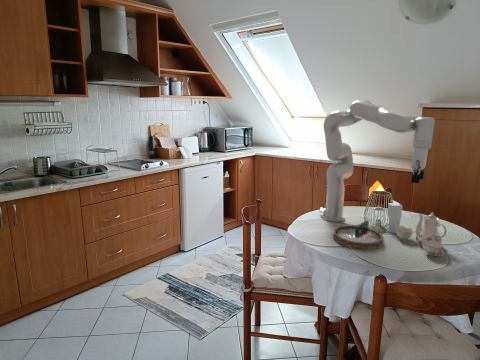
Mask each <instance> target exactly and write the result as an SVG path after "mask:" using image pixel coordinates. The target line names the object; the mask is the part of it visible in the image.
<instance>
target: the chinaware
mask: <svg viewBox="0 0 480 360" xmlns="http://www.w3.org/2000/svg"><path fill="white" fill-rule="evenodd" d="M439 221H440V218H438V217H437V216H436V215H435V214H434V212H430V214H429V215H426V216H423V214H422V213H419V220H418V221H417V224H416V226H415V231H414V229H413V228H412V227H406V226H404V225H403V226H400V225H399V227H395V230H396V232H395V233H396V236H397V237H398V238H399V240H400V241H404V242H406V241H408V240H409V239H410V238H411V237H412V235H413V234H414V233H415V235H416V236H415V240H416V242H417V245H418V246H420V247H421V248H422V249H423V251H424V252H425V254H426V255H427V256H429V257H434V256H435V257H437V256H439V257H443V256H444V250H443V249H442V248H443V246H444V245H443V238H444V237H445V236H446V235H447V232H448V231H447V227H446V225H445V224H443V223H441V222H439ZM423 222H424V223H423ZM440 226H442V227H443V229H444V233H443V235H441V236H440V234H439V230H438V228H439V227H440ZM440 251H441V252H442V254H441V255H440V254H438V253H440Z"/></svg>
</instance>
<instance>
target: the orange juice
mask: <svg viewBox="0 0 480 360" xmlns="http://www.w3.org/2000/svg"><path fill="white" fill-rule="evenodd" d="M382 185H383V184H382V183H380V182H379V180H376V181H375V182H374V183H373V185H372V186H370V188H369V191H368V197H369V196H370V194H371V192H372V191H385V189H384V187H383V186H382ZM385 192H386V191H385Z"/></svg>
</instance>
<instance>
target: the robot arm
mask: <svg viewBox="0 0 480 360" xmlns="http://www.w3.org/2000/svg"><path fill="white" fill-rule="evenodd" d="M363 120H364V121H367V122H370V123H373V124H376V125H378V126H380V127H382V128H384V129H387V130H389V131H393V132H396V133H400V134H403V133H404V134H405V133H411V132H414V134H413V141H412V148H414V149H413V152H412V158H411V165H410V169H411V170H413V171H412V174H411V180H410V181H411V183H413V184H419V183H420V180H424V175H425V167H426V166H427V161H428V151H429V150H430V149H432V142H433V137H434V136H433V135H434V128H435V123H436V122H435V121H436V120H435V118H434V117H431V116H430V117H429V116H426V117H425V116H415V115H400V114H395V113H393V112H390V111H387V110H386V108H385V107H383V106H381V105H376V104H375V103H373V102H371V101H369V100H363V99H362V100H361V99H359V100H355V101H353V102H352V103H351V104H350V105H349V109H347V110H335V111H332V112H331V113H329V114H328V115H327V116H326V117H325V118H324V121H323V132H324V138H325V149H326V156H327V158H328V160H329V161H331V162H336V163H333V164H330V165H329V166H328V167H327V170H326V199H325V207H324V208H323V207H320V208H319V213H322V215H321V217H322V219H323V220H325V221H328V222H331V223H332V222H334V223H340V222H343V221H346V216H345V215H343V211H344V204H345V203H344V200H345V190H346V189H345V182H344V180H345V179H349V178H350V177H351V176H352V175H353V173H354V158H353V152H352V148H351V146H350V145H349V144H348V143H346V142H343V141H342V134H341V131H340V130H339V129H340V128H342V127H350V126H353V125H355V124H357V123H359V122H361V121H363Z"/></svg>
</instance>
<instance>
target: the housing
mask: <svg viewBox="0 0 480 360" xmlns="http://www.w3.org/2000/svg"><path fill="white" fill-rule="evenodd" d="M356 226H357V225H342V226H339V227H336V228H334V229H333V235H332V239H333V242H335V243H337V244H339V245H341V246H343V247H345V248H350V249H354V250H360V251H372V250H373V251H374V250H378V249H379V248H381V247H383V246H384V239H385V238H384V236H383V234H382V233H381V232H379V231H377V230H375V229H373V228H369V227H368V231H371V232H374V233H376V234H377V235H378V236H379V238H380V239H378V241H377V242H370V243H362V242H353V241H350V240H346V239H343V238H341V237H340V236H338V235H337V232H338V231H339V230H341V229H344V228H356Z"/></svg>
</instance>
